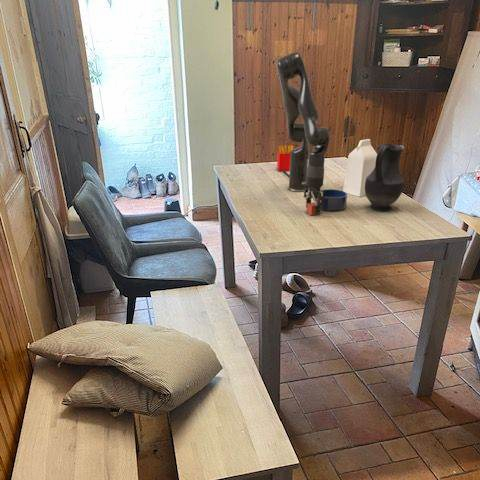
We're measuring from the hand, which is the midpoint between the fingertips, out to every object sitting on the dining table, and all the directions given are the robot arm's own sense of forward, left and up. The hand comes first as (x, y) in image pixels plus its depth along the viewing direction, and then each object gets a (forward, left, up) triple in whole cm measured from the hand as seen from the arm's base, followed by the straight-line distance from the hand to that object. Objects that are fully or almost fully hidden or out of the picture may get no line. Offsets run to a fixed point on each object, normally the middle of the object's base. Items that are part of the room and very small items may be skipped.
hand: (312, 210), depth 229 cm
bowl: (-11, +9, -1) cm, 14 cm away
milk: (-37, +24, -2) cm, 44 cm away
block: (0, 0, -1) cm, 1 cm away
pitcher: (-9, +31, -2) cm, 33 cm away
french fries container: (-80, -16, -2) cm, 82 cm away
